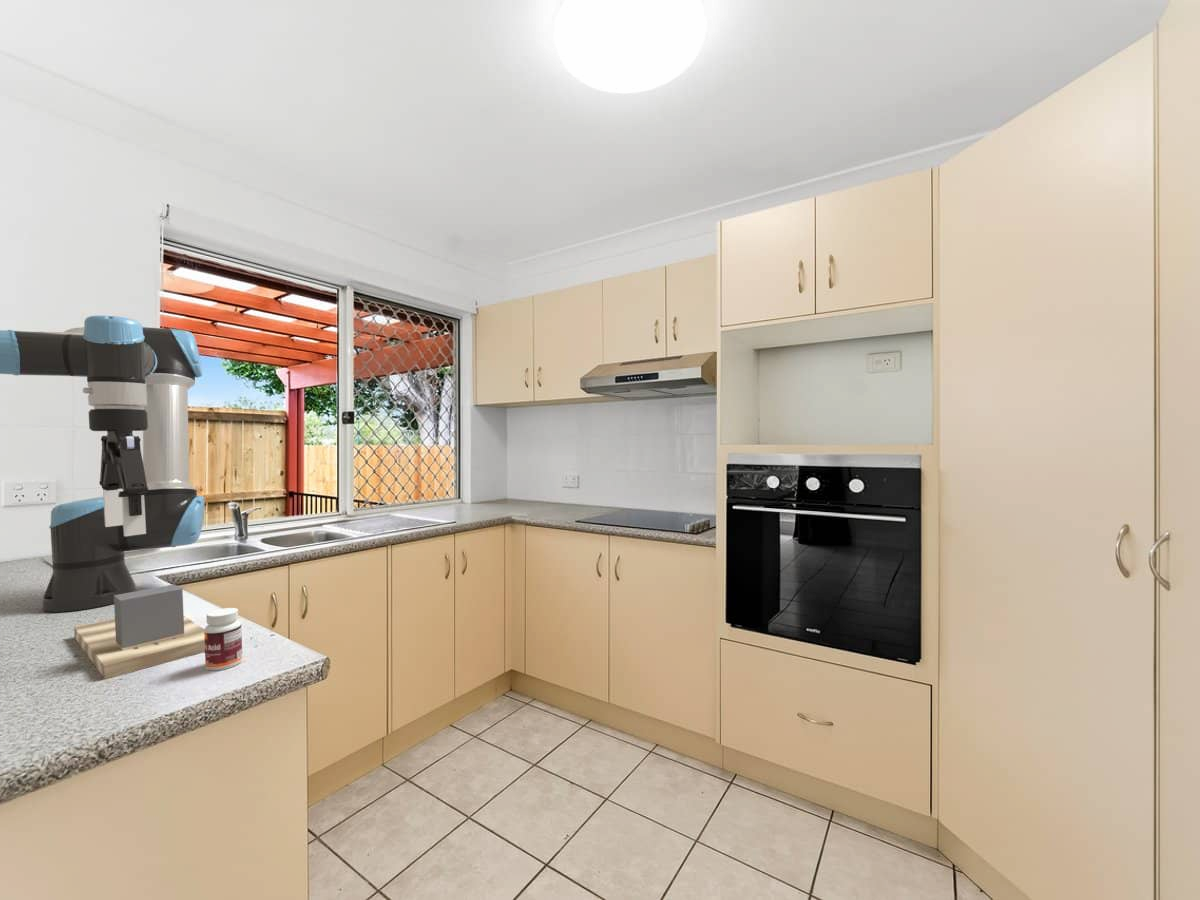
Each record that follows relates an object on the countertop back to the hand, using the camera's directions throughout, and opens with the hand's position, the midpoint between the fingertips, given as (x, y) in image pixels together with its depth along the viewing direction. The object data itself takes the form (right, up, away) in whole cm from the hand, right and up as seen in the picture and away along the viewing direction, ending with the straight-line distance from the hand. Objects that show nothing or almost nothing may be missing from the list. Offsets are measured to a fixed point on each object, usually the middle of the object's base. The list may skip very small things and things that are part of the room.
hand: (124, 530), depth 93 cm
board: (+3, -20, +1) cm, 20 cm away
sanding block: (+7, -18, -3) cm, 20 cm away
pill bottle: (+24, -20, -9) cm, 32 cm away
